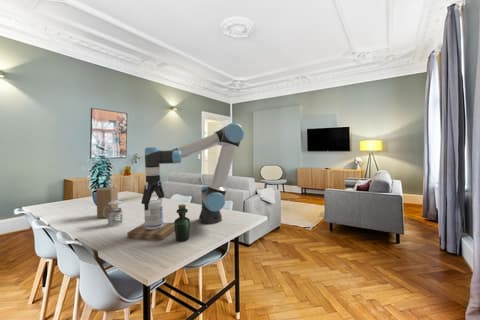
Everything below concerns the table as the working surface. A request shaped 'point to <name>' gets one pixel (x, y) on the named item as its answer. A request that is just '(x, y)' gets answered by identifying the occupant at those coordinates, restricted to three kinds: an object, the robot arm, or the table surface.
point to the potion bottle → (182, 224)
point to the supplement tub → (154, 215)
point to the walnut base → (151, 232)
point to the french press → (116, 212)
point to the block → (106, 200)
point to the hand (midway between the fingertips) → (154, 212)
